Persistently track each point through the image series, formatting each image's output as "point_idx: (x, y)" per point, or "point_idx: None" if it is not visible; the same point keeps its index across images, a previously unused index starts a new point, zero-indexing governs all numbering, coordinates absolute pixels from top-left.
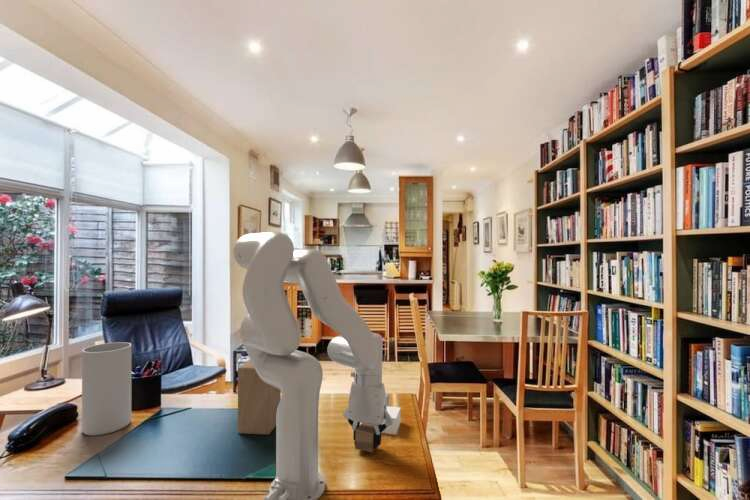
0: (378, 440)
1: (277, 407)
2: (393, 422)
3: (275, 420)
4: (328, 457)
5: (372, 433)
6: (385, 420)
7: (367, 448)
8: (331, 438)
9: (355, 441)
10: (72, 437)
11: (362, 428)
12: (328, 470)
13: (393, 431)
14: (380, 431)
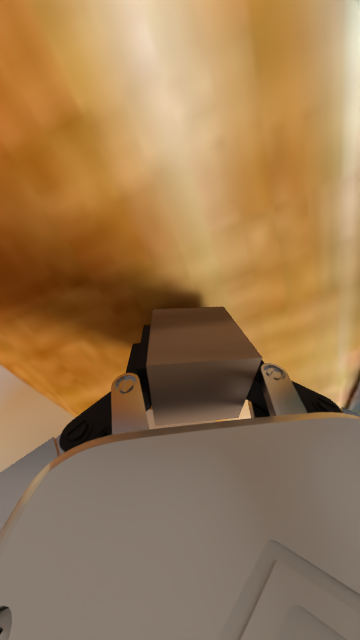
0: (133, 355)
1: None
2: None
3: None
4: (307, 239)
5: (146, 365)
6: None
7: (173, 313)
8: (304, 341)
9: (233, 321)
10: None
11: (225, 383)
12: (301, 124)
13: (148, 416)
14: (112, 396)
